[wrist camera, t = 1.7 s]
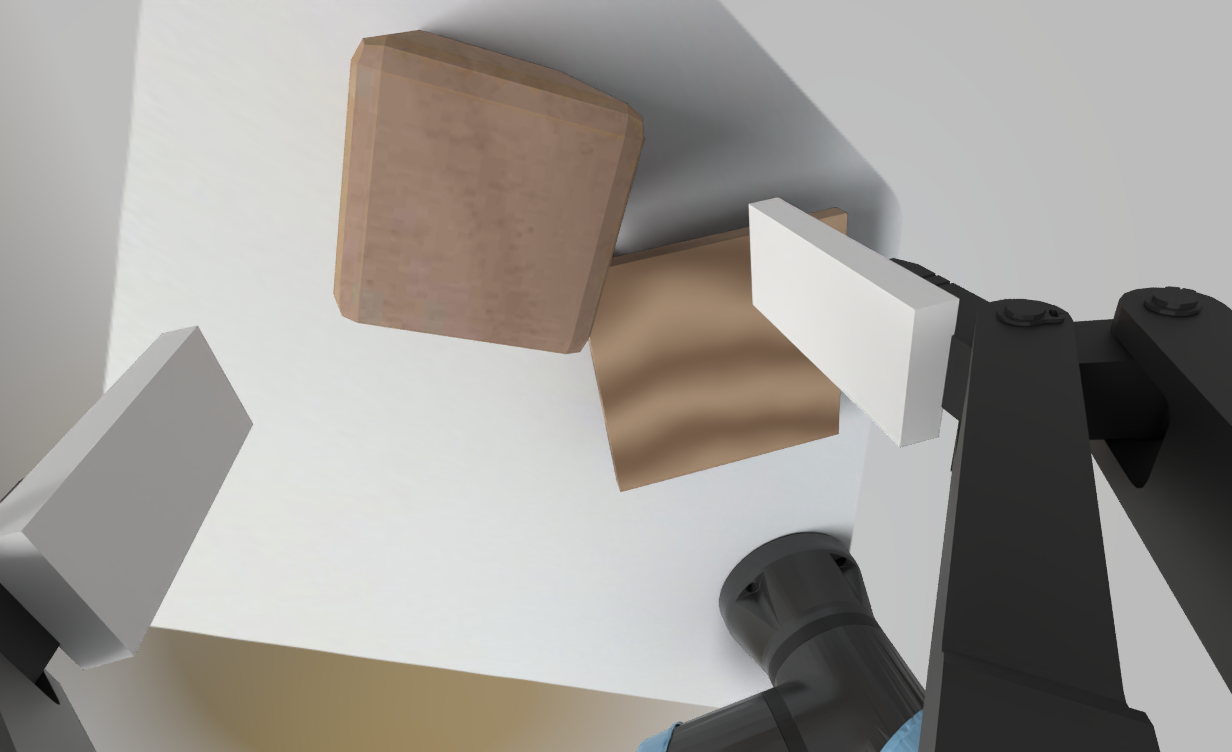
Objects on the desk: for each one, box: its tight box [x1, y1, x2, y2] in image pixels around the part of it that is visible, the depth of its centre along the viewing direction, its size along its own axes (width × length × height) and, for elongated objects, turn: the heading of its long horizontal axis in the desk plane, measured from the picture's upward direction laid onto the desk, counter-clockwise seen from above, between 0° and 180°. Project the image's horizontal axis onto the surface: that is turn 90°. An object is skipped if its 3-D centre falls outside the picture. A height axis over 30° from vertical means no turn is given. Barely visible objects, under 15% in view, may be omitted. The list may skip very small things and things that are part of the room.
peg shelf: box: [588, 207, 847, 492], centre depth 47 cm, size 18×18×6 cm
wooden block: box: [333, 30, 644, 354], centre depth 31 cm, size 10×10×20 cm
